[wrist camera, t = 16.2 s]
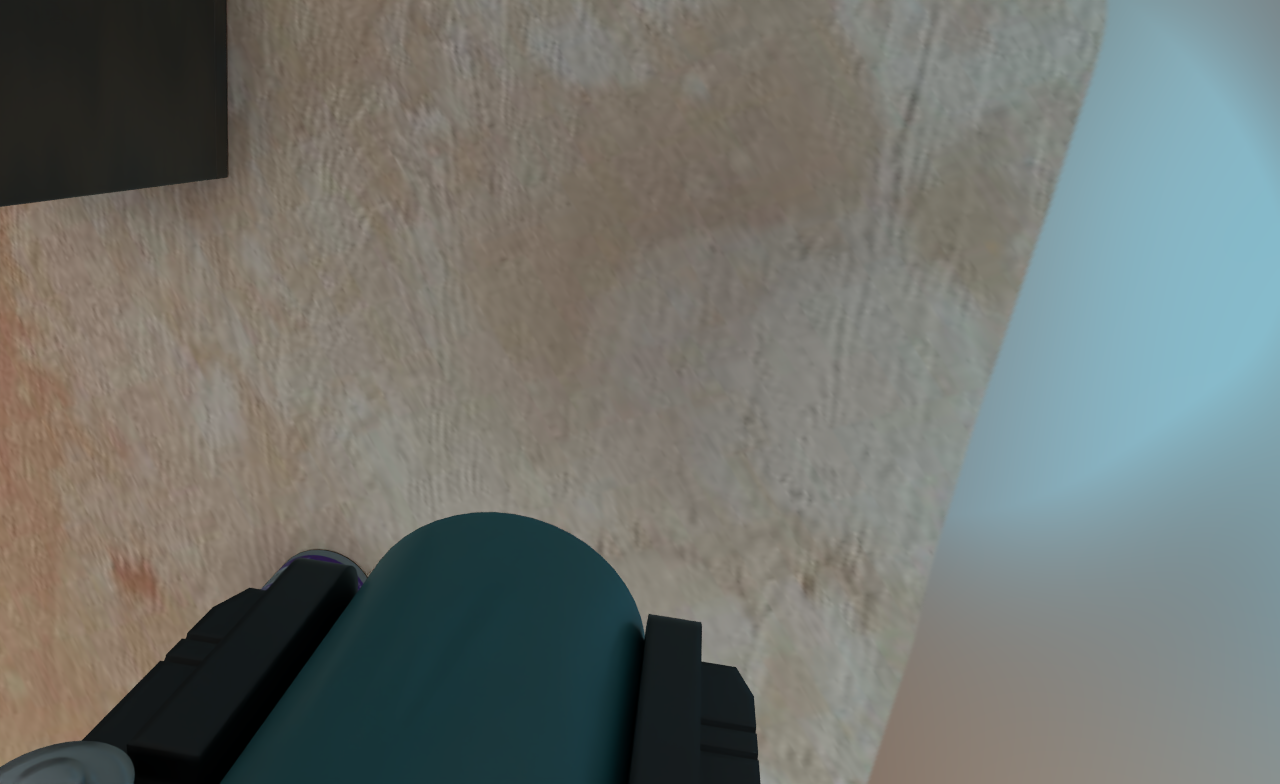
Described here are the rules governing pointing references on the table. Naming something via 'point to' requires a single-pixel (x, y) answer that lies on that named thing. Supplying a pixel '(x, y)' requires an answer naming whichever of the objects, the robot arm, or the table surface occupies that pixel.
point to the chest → (110, 96)
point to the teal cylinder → (466, 668)
